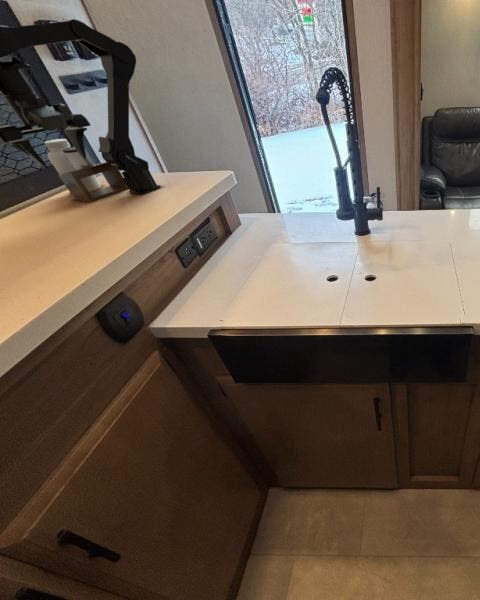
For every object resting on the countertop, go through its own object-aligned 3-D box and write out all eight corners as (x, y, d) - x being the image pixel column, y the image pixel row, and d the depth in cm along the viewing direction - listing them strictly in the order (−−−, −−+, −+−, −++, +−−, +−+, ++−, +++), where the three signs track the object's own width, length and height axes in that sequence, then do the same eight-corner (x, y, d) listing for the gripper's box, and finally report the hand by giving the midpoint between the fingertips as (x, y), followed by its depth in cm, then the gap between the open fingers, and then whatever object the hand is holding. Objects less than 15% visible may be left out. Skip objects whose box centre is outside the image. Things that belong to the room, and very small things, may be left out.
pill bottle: (106, 187, 106) (75, 138, 97) (78, 195, 101) (42, 144, 92) (96, 184, 110) (65, 136, 101) (68, 192, 105) (33, 142, 96)
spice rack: (75, 199, 99) (54, 170, 93) (114, 186, 107) (97, 159, 102) (90, 201, 96) (70, 172, 91) (129, 188, 105) (113, 160, 99)
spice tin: (91, 166, 100) (77, 145, 96) (101, 167, 98) (88, 146, 94) (72, 171, 96) (58, 150, 92) (83, 172, 94) (68, 151, 91)
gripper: (-16, 99, 66) (42, 176, 76) (82, 88, 79) (120, 154, 89) (-41, 100, 70) (17, 173, 80) (56, 89, 83) (96, 153, 93)
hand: (66, 163), depth 85 cm, fingers open, 9 cm apart
